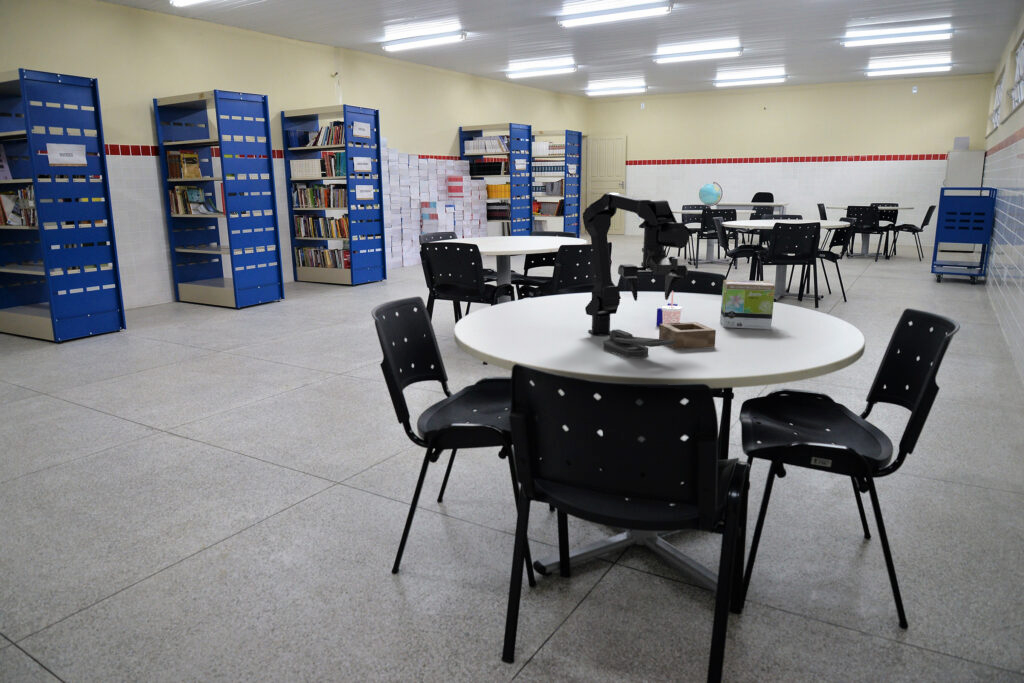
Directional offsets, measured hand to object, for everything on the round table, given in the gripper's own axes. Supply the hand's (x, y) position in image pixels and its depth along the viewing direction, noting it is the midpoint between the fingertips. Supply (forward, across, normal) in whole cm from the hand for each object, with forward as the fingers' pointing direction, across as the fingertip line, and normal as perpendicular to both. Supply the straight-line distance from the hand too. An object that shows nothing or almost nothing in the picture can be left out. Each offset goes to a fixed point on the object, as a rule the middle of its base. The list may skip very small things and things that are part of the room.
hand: (651, 300), depth 193 cm
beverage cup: (+14, +12, +12) cm, 22 cm away
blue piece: (+14, +17, +31) cm, 39 cm away
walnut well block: (+14, +12, +1) cm, 18 cm away
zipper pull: (+14, -7, -10) cm, 18 cm away
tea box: (+14, +41, +21) cm, 49 cm away
